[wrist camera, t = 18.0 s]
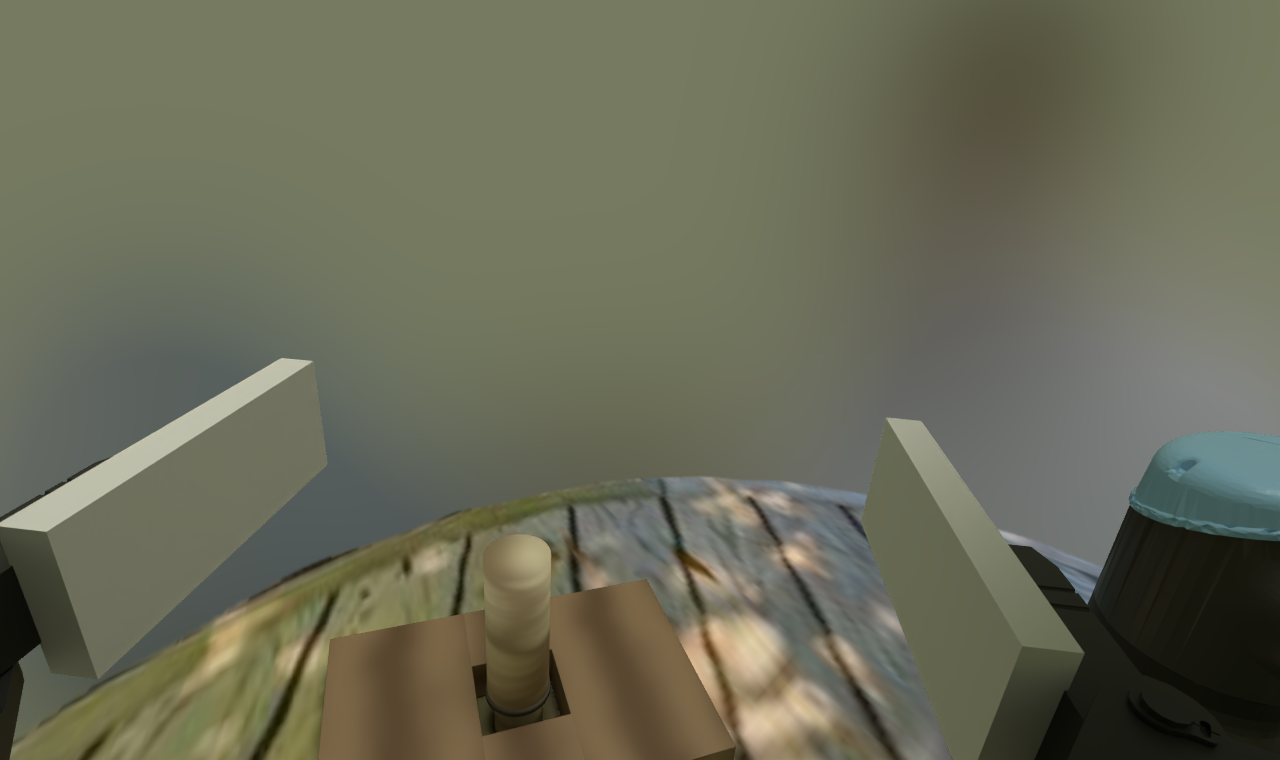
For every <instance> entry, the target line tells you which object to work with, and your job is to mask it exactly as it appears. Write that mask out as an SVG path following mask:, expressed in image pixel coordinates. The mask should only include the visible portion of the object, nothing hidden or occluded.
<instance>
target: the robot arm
mask: <svg viewBox="0 0 1280 760" xmlns="http://www.w3.org/2000/svg"><path fill="white" fill-rule="evenodd" d="M326 465H327V458H326V450H325V443H324V436H323V429H322V421H321V414H320V407H319V400H318V393H317V385H316V379H315V371H314V364H313V361H304V360H295V359H285V358H281V359H279V360H278V361H276V362H274V363H273V364H271V365H269V366H267V367H266V368H264V369H262V370H261V371H259V372H257V373H255V374H254V375H252V376H250V377H249V378H247V379H245V380H243V381H242V382H240V383H238V384H236V385H235V386H233V387H231V388H230V389H228V390H226V391H225V392H223V393H221V394H219V395H218V396H216V397H214V398H212V399H211V400H209V401H207V402H206V403H204V404H202V405H200V406H199V407H197V408H195V409H194V410H192V411H190V412H188V413H187V414H185V415H184V416H182V417H180V418H178V419H177V420H175V421H173V422H171V423H170V424H168V425H166V426H164V427H163V428H161V429H160V430H158V431H156V432H154V433H152V434H151V435H149V436H147V437H146V438H144V439H142V440H141V441H139V442H137V443H135V444H134V445H132V446H130V447H128V448H127V449H125V450H123V451H122V452H120V453H118V454H116V455H115V456H112V457H110V458H107V459H105V460H102V461H99V462H96V463H94V464H92V465H90V466H88V467H87V468H85V469H83V470H82V471H80V472H78V473H76V474H75V475H73V476H72V477H69V478H68V479H67V482H61V483H59V484H58V485H56V486H54V487H52V488H50V489H49V490H47V491H45V494H44V495H38V496H36V497H35V498H33V499H31V500H30V501H28V502H26V503H25V504H23V505H21V506H19V507H18V508H16V509H14V510H12V511H10V512H9V513H7V514H5V515H4V516H2V517H0V760H9V759H10V754H11V748H12V743H13V738H14V732H15V727H16V721H17V716H18V711H19V705H20V700H21V695H22V689H23V684H24V678H23V673H22V670H21V667H20V665H19V662H18V661H19V660H20V659H21V658H23V657H24V656H25V655H26V654H27V653H29V652H30V651H31V650H33V649H34V648H35V647H36V646H38V645H39V644H40V645H41V648H42V650H43V653H44V655H45V658H46V660H47V663H48V666H49V668H50V671H51V673H53V674H61V675H69V676H76V677H84V678H92V679H99V678H100V677H101V676H102V675H103V674H104V673H105V672H106V671H107V670H108V669H109V668H111V666H112V665H114V664H115V663H116V662H117V661H118V660H119V659H120V658H121V657H122V656H123V655H124V654H125V653H126V652H128V651H129V650H130V649H131V648H132V647H133V646H134V645H135V644H136V643H137V642H138V641H139V640H140V639H141V638H143V637H144V636H145V635H146V634H147V633H148V632H149V631H150V630H151V629H152V628H153V627H154V626H155V625H156V624H157V623H159V622H160V621H161V620H162V619H163V618H164V617H165V616H166V615H167V614H168V613H169V612H170V611H171V610H172V609H173V608H175V607H176V606H177V605H178V604H179V603H180V602H181V601H182V600H183V599H184V598H185V597H186V596H187V595H188V594H189V593H190V592H192V591H193V590H194V589H195V588H196V587H197V586H198V585H199V584H200V583H201V582H202V581H203V580H204V579H205V578H206V577H207V576H209V575H210V574H211V573H212V572H213V571H214V570H215V569H216V568H217V567H218V566H219V565H220V564H221V563H222V562H223V561H225V560H226V559H227V558H228V557H229V556H230V555H231V554H232V553H233V552H234V551H235V550H236V549H238V548H239V547H240V546H241V545H242V544H243V543H244V542H245V541H246V540H247V539H248V538H249V537H250V536H251V535H252V534H254V533H255V532H256V531H257V530H258V529H259V528H260V527H261V526H262V525H263V524H264V523H265V522H266V521H267V520H268V519H269V518H270V517H272V516H273V515H274V514H275V513H276V512H277V511H278V510H279V509H280V508H281V507H282V506H283V505H284V504H285V503H287V502H288V501H289V500H290V499H291V498H292V497H293V496H294V495H295V494H296V493H297V492H298V491H299V490H300V489H301V488H302V487H304V485H306V484H307V483H308V482H309V481H310V480H311V479H312V478H313V477H314V476H315V475H316V474H318V472H320V471H321V470H322V469H323V468H324V467H325V466H326ZM1129 501H1130V506H1129V508H1128V511H1127V513H1126V515H1125V518H1124V520H1123V522H1122V525H1121V527H1120V530H1119V532H1118V534H1117V537H1116V539H1115V542H1114V544H1113V546H1112V549H1111V551H1110V553H1109V556H1108V558H1107V560H1106V563H1105V565H1104V568H1103V570H1102V572H1101V574H1100V577H1099V579H1098V581H1097V583H1096V586H1095V588H1094V591H1093V593H1092V595H1091V598H1090V600H1089V602H1088V604H1086V603H1085V601H1084V600H1083V599H1082V598H1081V596H1080V595H1079V594H1077V593H1075V589H1074V587H1073V586H1072V585H1071V583H1070V582H1069V581H1068V580H1067V578H1066V577H1065V576H1064V574H1063V573H1062V572H1061V571H1060V569H1059V568H1058V567H1057V566H1056V565H1054V564H1053V563H1052V562H1050V561H1049V560H1048V559H1046V558H1045V557H1044V556H1042V555H1041V554H1040V553H1038V552H1037V551H1036V550H1034V549H1033V548H1032V547H1028V546H1019V545H1010V544H1007V542H1006V541H1005V539H1004V538H1003V537H1002V535H1001V534H1000V532H999V531H998V529H997V528H996V527H995V525H994V524H993V522H992V521H991V519H990V518H989V517H988V515H987V514H986V512H985V511H984V510H983V508H982V507H981V505H980V504H979V502H978V501H977V500H976V498H975V497H974V495H973V494H972V493H971V491H970V490H969V488H968V487H967V486H966V484H965V483H964V481H963V480H962V478H961V477H960V476H959V474H958V473H957V471H956V470H955V468H954V467H953V466H952V464H951V463H950V461H949V460H948V458H947V457H946V456H945V454H944V453H943V451H942V450H941V449H940V447H939V446H938V444H937V443H936V442H935V440H934V439H933V437H932V436H931V434H930V433H929V431H928V430H927V429H926V427H925V426H924V424H923V423H922V422H921V421H913V420H904V419H893V418H886V420H885V424H884V428H883V433H882V436H881V440H880V445H879V449H878V453H877V457H876V461H875V465H874V470H873V474H872V478H871V482H870V487H869V491H868V495H867V499H866V503H865V507H864V511H863V516H862V520H861V523H862V526H863V528H864V531H865V533H866V536H867V539H868V541H869V544H870V546H871V549H872V552H873V554H874V557H875V559H876V562H877V565H878V567H879V570H880V572H881V575H882V578H883V580H884V583H885V585H886V588H887V591H888V593H889V596H890V598H891V601H892V604H893V606H894V609H895V611H896V614H897V617H898V619H899V622H900V624H901V627H902V630H903V632H904V635H905V637H906V640H907V643H908V645H909V648H910V650H911V653H912V656H913V658H914V661H915V663H916V666H917V669H918V671H919V674H920V676H921V679H922V682H923V684H924V687H925V689H926V692H927V695H928V697H929V700H930V702H931V705H932V708H933V710H934V713H935V715H936V718H937V721H938V723H939V726H940V728H941V731H942V734H943V736H944V739H945V741H946V744H947V747H948V749H949V752H950V754H951V757H952V760H1280V436H1274V435H1266V434H1256V433H1246V432H1204V433H1195V434H1190V435H1185V436H1181V437H1179V438H1176V439H1174V440H1171V441H1170V442H1168V443H1166V444H1165V445H1163V446H1162V447H1161V448H1160V449H1159V450H1158V451H1157V452H1156V454H1155V455H1154V457H1153V458H1152V461H1151V462H1150V464H1149V466H1148V468H1147V470H1146V472H1145V474H1144V476H1143V477H1142V479H1141V481H1140V483H1139V485H1138V486H1137V487H1135V488H1134V489H1133V491H1132V492H1131V494H1130V497H1129Z"/></svg>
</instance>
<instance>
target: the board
mask: <svg viewBox="0 0 1280 760" xmlns="http://www.w3.org/2000/svg"><path fill="white" fill-rule="evenodd" d="M549 677H550V680H551V681H552V685H553V688H554V692H555V695H556V699H557V702H558V706H559V710H560V713H561V717H557V718H553V719H549V720H545V721H541V722H537V723H533V724H529V725H525V726H521V727H517V728H513V729H510V730H506V731H502V732H498V733H494V734H490V735H486V736H482V732H481V725H480V719H479V712H478V705H477V699H476V697H481V696H485V695H486V683H487V664H486V633H485V610H481V611H476V612H471V613H466V614H460V615H455V616H450V617H445V618H439V619H434V620H429V621H423V622H418V623H413V624H408V625H402V626H397V627H392V628H387V629H381V630H376V631H371V632H366V633H360V634H355V635H350V636H344V637H339V638H334V639H330V646H329V656H328V666H327V676H326V686H325V696H324V706H323V716H322V726H321V736H320V746H319V756H318V760H733V759H734V754H735V748H736V746H735V744H734V742H733V741H732V739H731V737H730V735H729V733H728V731H727V729H726V727H725V726H724V724H723V722H722V720H721V718H720V716H719V714H718V712H717V711H716V709H715V707H714V705H713V703H712V701H711V699H710V697H709V695H708V694H707V692H706V690H705V688H704V686H703V684H702V682H701V680H700V679H699V677H698V675H697V673H696V671H695V669H694V667H693V665H692V664H691V662H690V660H689V658H688V656H687V654H686V652H685V650H684V649H683V647H682V645H681V643H680V641H679V639H678V637H677V635H676V634H675V632H674V630H673V628H672V626H671V624H670V622H669V620H668V619H667V617H666V615H665V613H664V611H663V609H662V607H661V605H660V603H659V602H658V600H657V598H656V596H655V594H654V592H653V590H652V588H651V587H650V585H649V583H648V581H647V579H645V580H640V581H634V582H629V583H624V584H618V585H613V586H608V587H603V588H597V589H592V590H587V591H582V592H576V593H571V594H566V595H560V596H555V597H550V639H549Z"/></svg>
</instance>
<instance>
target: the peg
mask: <svg viewBox="0 0 1280 760" xmlns="http://www.w3.org/2000/svg"><path fill="white" fill-rule="evenodd" d="M483 571H484V602H485V633H486V664H487V683H486V698H487V702H488V704H489V705H490V707H491V708H492V709H493V710H494V723H495V731H496V733H498V732H502V731H506V730H510V729H513V728H517V727H521V726H525V725H529V724H533V723H537V722H541V721H542V705H543V704H544V703H545V702H546V700H547V698H548V696H549V693H550V677H549V639H550V580H551V551H550V548H549V546H548V545H547V544H546V543H545V542H544V541H543V540H541V539H539V538H537V537H534V536H530V535H523V534H517V535H509V536H505V537H502V538H499V539H497V540H495V541H494V542H492V543H491V544H490V545H489V546H488V547H487V548H486V550H485V551H484V554H483Z"/></svg>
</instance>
